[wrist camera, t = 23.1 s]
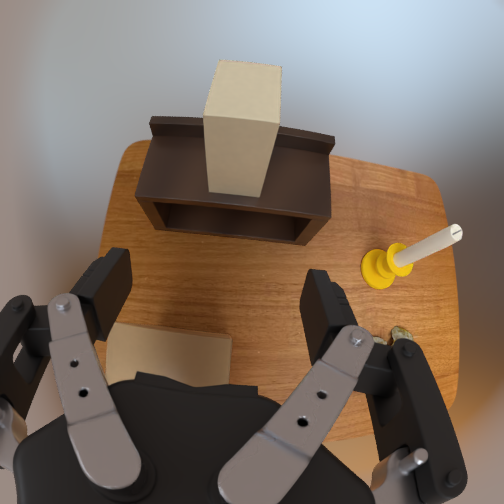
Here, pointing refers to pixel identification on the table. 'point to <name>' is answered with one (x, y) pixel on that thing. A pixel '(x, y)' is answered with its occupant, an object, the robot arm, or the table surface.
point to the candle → (403, 257)
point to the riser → (168, 354)
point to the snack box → (241, 126)
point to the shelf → (228, 205)
